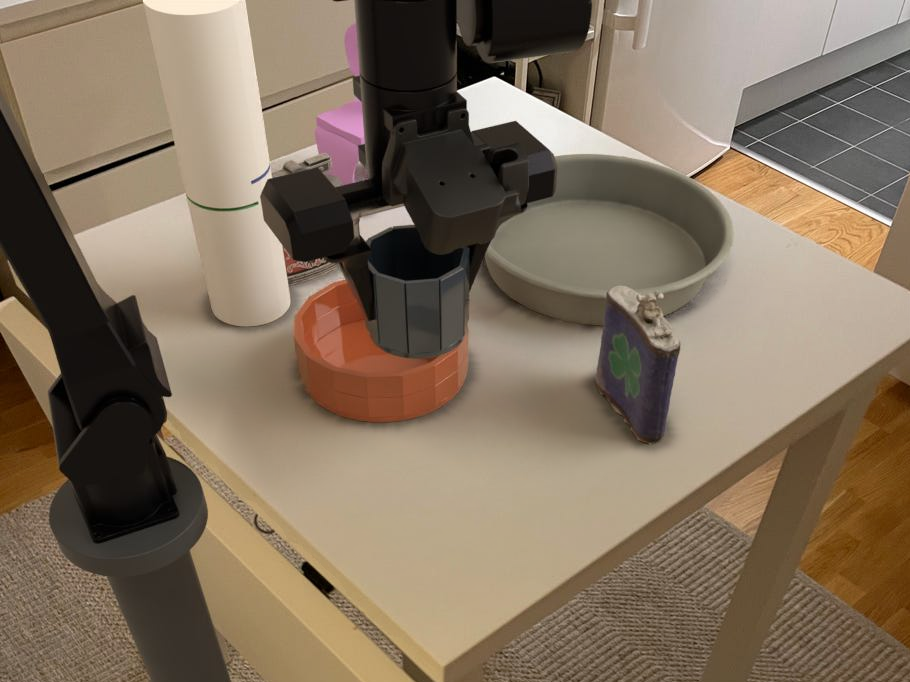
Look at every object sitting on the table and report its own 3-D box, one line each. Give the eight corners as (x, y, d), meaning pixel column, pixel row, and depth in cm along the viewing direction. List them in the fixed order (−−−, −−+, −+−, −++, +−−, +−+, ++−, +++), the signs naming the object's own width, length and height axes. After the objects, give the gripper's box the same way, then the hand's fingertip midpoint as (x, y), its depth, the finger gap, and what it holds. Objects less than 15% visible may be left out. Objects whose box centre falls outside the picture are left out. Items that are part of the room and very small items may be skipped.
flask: (588, 380, 85) (604, 266, 76) (619, 372, 85) (637, 258, 77) (642, 448, 79) (665, 334, 71) (674, 439, 80) (700, 324, 72)
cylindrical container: (306, 296, 91) (264, -11, 72) (255, 335, 88) (197, 23, 68) (246, 272, 94) (189, -32, 74) (194, 309, 90) (120, -1, 70)
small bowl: (394, 371, 69) (390, 295, 64) (351, 314, 73) (344, 238, 68) (485, 343, 71) (487, 267, 67) (438, 289, 75) (437, 214, 71)
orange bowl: (339, 442, 79) (333, 397, 76) (276, 344, 87) (268, 299, 83) (496, 392, 83) (497, 346, 80) (423, 303, 91) (421, 258, 87)
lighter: (284, 290, 92) (268, 185, 84) (264, 274, 93) (246, 169, 86) (356, 260, 95) (346, 157, 87) (335, 245, 97) (324, 141, 89)
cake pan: (579, 372, 85) (584, 327, 82) (418, 243, 97) (417, 199, 94) (778, 279, 94) (791, 235, 91) (609, 172, 106) (614, 129, 103)
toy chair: (312, 189, 103) (293, 30, 91) (373, 159, 107) (362, 3, 95) (367, 219, 100) (355, 58, 88) (428, 186, 104) (425, 29, 92)
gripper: (312, 167, 51) (340, 408, 64) (616, 95, 57) (588, 329, 69) (238, 80, 57) (277, 316, 69) (520, 23, 63) (510, 250, 75)
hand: (416, 304), depth 71 cm, fingers closed on small bowl, 7 cm apart
